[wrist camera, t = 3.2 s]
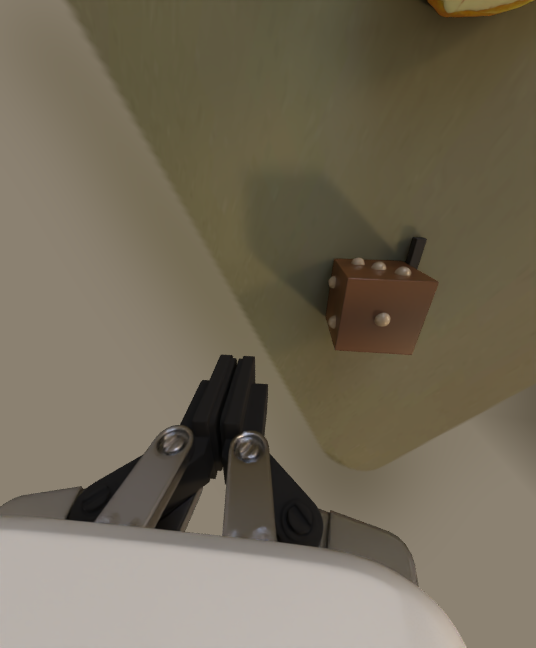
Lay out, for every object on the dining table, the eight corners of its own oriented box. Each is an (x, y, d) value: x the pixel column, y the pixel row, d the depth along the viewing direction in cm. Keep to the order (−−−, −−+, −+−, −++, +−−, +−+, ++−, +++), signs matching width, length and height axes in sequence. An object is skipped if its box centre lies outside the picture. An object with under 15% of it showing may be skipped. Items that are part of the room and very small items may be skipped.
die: (329, 252, 21) (343, 272, 15) (404, 255, 21) (446, 276, 15) (320, 317, 24) (329, 353, 19) (385, 320, 24) (415, 359, 18)
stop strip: (412, 237, 20) (417, 238, 19) (422, 237, 20) (427, 238, 19) (383, 337, 25) (386, 341, 24) (391, 337, 25) (394, 342, 24)
